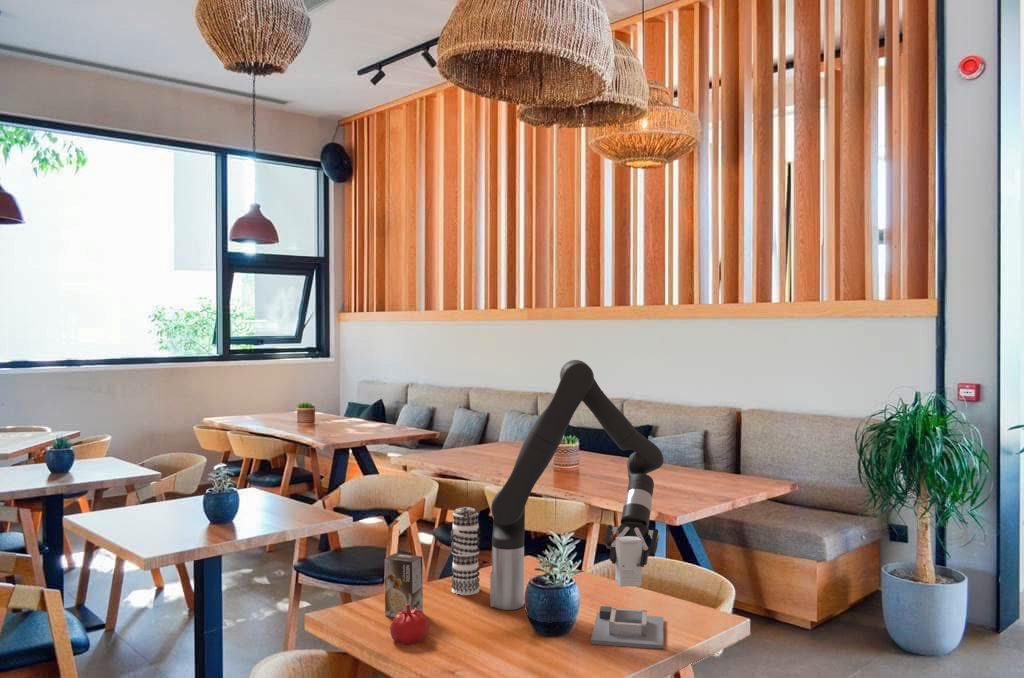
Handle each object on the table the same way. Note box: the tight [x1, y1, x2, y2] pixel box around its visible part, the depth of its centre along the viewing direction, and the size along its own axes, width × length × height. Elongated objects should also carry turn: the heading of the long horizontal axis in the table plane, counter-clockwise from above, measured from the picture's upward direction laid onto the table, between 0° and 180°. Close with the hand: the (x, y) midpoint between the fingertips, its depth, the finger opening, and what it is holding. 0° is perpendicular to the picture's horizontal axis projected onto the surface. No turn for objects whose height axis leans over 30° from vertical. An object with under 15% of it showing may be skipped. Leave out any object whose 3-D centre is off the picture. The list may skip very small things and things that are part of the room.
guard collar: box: [609, 607, 648, 637], centre depth 214 cm, size 9×11×3 cm
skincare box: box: [614, 536, 643, 588], centre depth 214 cm, size 6×4×12 cm
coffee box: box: [384, 552, 424, 618], centre depth 227 cm, size 9×6×16 cm
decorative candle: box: [450, 506, 481, 596], centre depth 247 cm, size 9×9×25 cm
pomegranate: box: [389, 604, 430, 646], centre depth 209 cm, size 10×10×9 cm
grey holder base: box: [590, 605, 664, 649], centre depth 214 cm, size 18×20×3 cm
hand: (627, 563), depth 213 cm, fingers closed on skincare box, 7 cm apart
